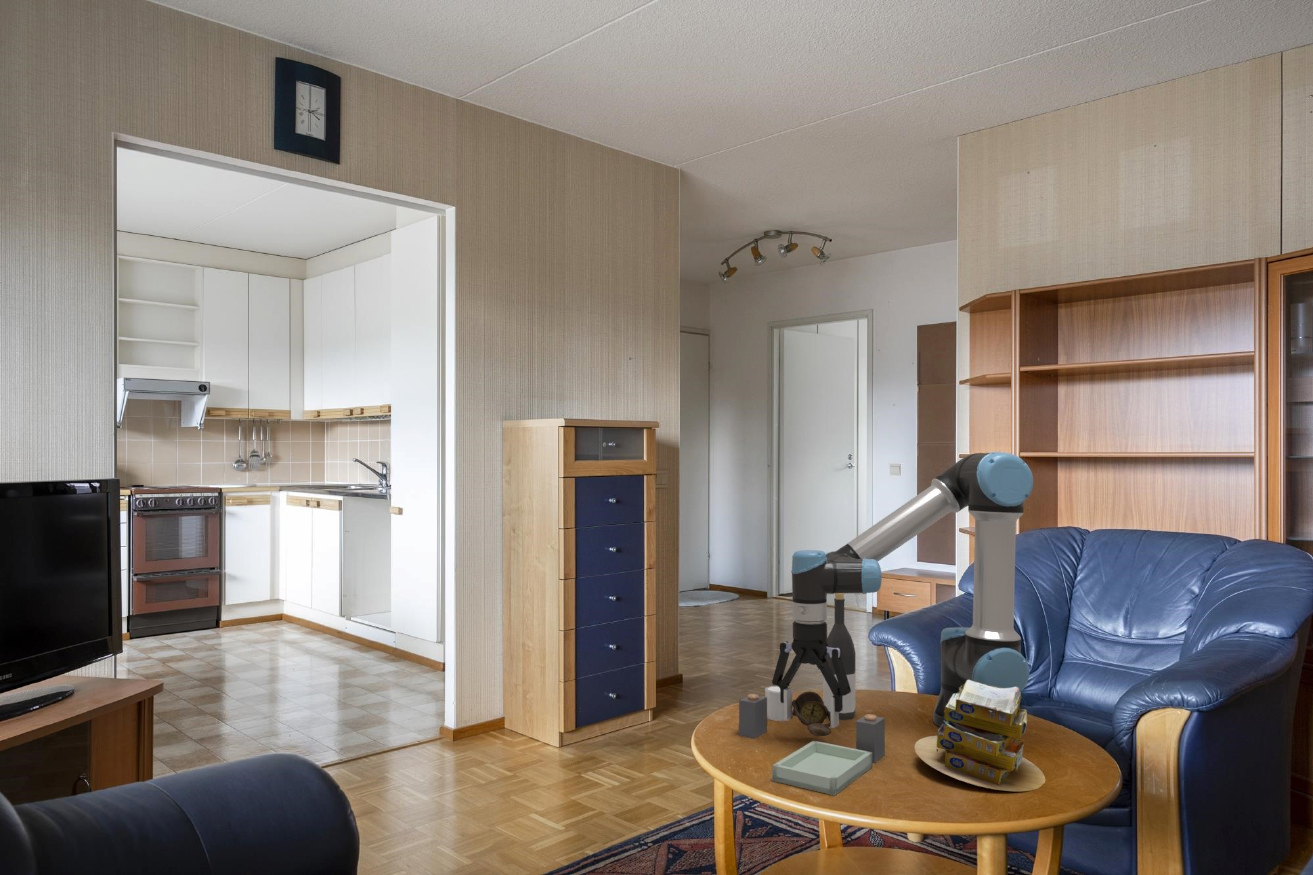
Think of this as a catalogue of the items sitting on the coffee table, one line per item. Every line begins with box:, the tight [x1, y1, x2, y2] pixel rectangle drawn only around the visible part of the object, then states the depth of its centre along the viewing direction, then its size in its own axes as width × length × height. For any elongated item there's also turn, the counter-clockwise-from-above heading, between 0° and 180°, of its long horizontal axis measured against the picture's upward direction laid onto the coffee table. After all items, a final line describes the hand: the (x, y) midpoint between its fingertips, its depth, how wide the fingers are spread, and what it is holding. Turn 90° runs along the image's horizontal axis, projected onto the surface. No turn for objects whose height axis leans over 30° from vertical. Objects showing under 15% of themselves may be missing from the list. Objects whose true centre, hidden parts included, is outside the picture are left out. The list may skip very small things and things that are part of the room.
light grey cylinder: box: [764, 685, 794, 722], centre depth 214 cm, size 7×7×7 cm
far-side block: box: [738, 693, 768, 739], centre depth 201 cm, size 4×6×9 cm, turn 145°
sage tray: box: [771, 740, 873, 796], centre depth 175 cm, size 13×19×3 cm
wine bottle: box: [822, 593, 856, 720], centre depth 217 cm, size 8×8×30 cm
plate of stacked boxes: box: [914, 680, 1046, 792], centre depth 178 cm, size 25×25×17 cm
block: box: [855, 713, 886, 765], centre depth 185 cm, size 4×6×9 cm, turn 145°
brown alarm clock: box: [792, 691, 832, 737], centre depth 193 cm, size 7×13×10 cm
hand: (811, 722), depth 193 cm, fingers closed on brown alarm clock, 10 cm apart
